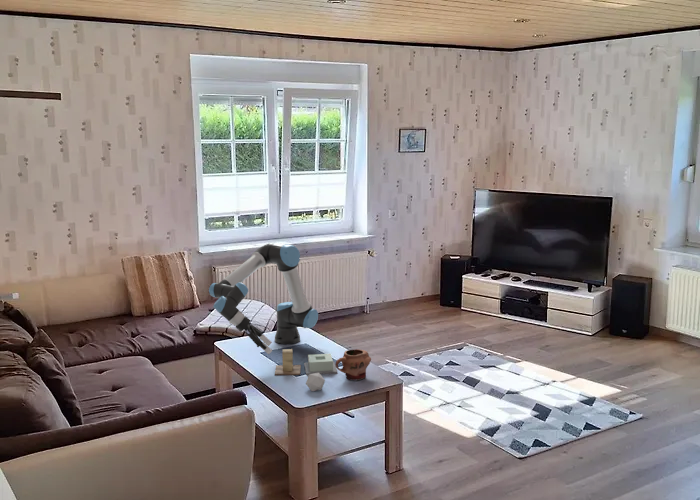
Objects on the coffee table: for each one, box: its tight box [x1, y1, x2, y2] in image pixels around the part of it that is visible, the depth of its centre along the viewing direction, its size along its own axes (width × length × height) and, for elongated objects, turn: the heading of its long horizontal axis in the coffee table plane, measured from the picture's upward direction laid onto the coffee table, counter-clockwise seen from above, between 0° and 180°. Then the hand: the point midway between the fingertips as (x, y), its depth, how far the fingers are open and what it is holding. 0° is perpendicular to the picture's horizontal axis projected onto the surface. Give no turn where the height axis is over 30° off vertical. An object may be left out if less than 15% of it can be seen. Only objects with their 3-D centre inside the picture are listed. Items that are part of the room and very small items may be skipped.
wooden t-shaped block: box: [274, 348, 302, 376], centre depth 338 cm, size 13×13×11 cm
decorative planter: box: [335, 348, 372, 381], centre depth 326 cm, size 20×12×14 cm, turn 125°
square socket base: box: [303, 353, 338, 376], centre depth 340 cm, size 16×16×6 cm
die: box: [305, 373, 326, 392], centre depth 312 cm, size 8×9×10 cm
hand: (270, 348), depth 335 cm, fingers open, 13 cm apart
